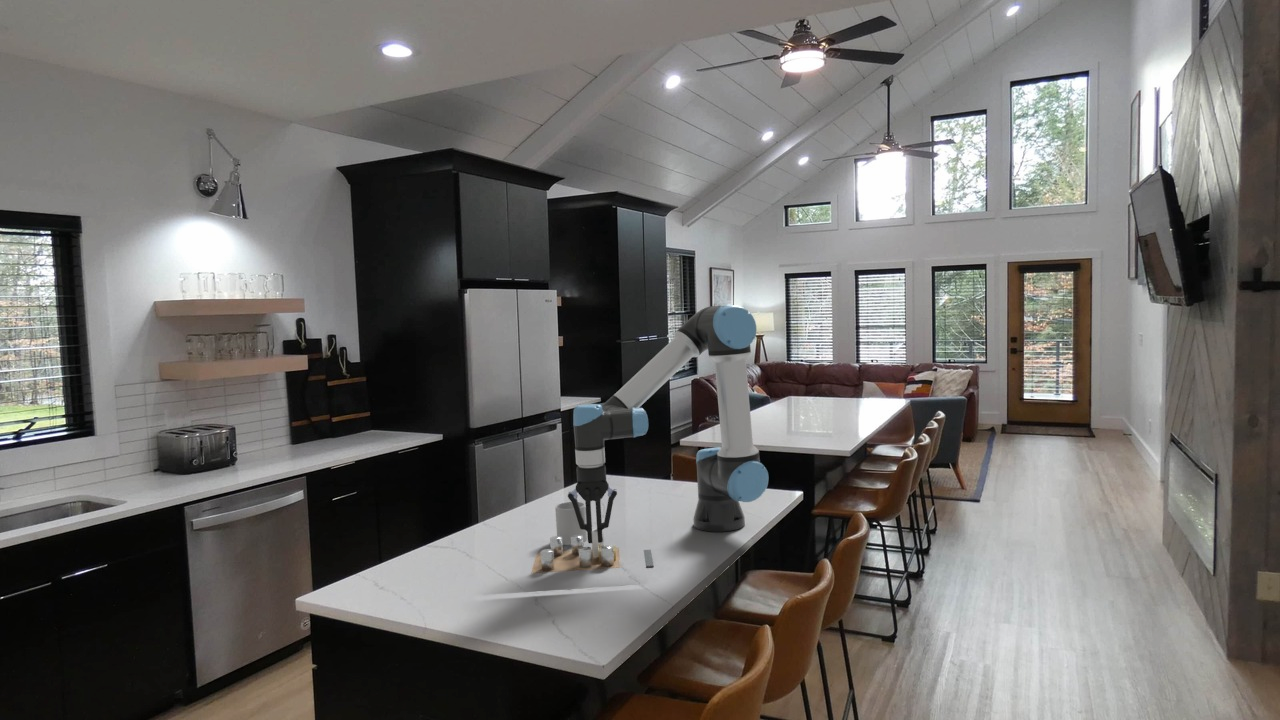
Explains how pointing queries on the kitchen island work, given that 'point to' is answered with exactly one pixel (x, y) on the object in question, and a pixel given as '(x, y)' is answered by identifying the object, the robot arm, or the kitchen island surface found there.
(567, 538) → the mug
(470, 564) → the kitchen island surface
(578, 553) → the spacers
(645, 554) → the mat
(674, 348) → the robot arm
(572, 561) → the board
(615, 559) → the nut
